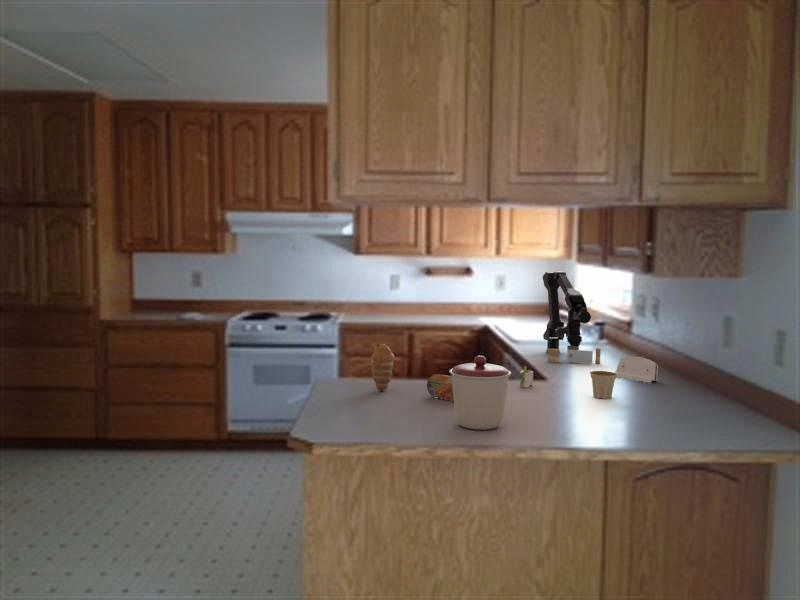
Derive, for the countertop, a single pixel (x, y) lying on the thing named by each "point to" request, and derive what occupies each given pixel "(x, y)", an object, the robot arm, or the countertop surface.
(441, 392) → the tin
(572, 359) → the door
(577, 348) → the block
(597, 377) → the flower pot
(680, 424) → the countertop surface
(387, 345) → the croissant
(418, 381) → the countertop surface
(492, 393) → the canister
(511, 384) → the countertop surface
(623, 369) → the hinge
